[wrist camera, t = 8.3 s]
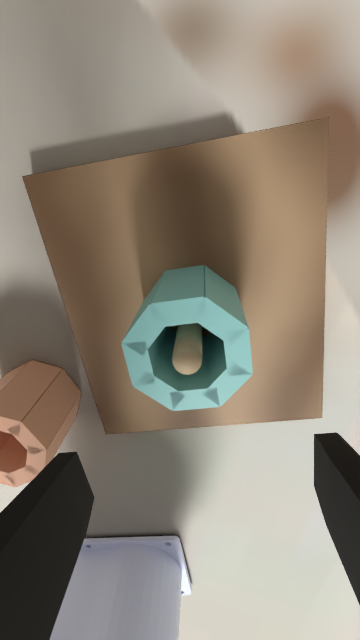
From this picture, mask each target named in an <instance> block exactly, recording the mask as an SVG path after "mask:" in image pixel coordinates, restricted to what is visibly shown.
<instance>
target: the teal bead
mask: <svg viewBox="0 0 360 640" xmlns="http://www.w3.org/2000/svg"><path fill="white" fill-rule="evenodd" d="M191 323H199V324H200V325H201V326H203V327H204V328H206V329H207V330H209V331H210V332H209V333H208V334H207V335H205V336H202V364H201V367H200V368H199V370H198V371H196V372H195V373H193V374H190V375H185V374H181V373H179V372H178V371H177V370H176V369H175V368H174V366H173V363H172V356H173V351H174V345H175V340H176V334H177V332H175V331H174V330H172V329H171V328H169V327H168V326H175V325H183V324H191ZM121 345H122V349H123V352H124V356H125V360H126V364H127V367H128V371H129V375H130V378H131V382H132V386H133V387H134V388H136V389H138V390H139V391H141V392H143V393H144V394H146V395H147V396H149V397H151V398H152V399H154V400H155V401H157V402H159V403H160V404H162V405H164V406H165V407H167V408H168V409H170V410H173V411H180V410H192V409H203V408H214V407H220V406H222V405H223V404H224V403H225V402H226V401H227V400H228V399H229V398H230V397H231V396H232V395H233V394H234V393H235V392H236V391H237V390H238V389H239V388H240V387H241V386H242V385H243V384H244V383H245V382H246V381H247V380H248V379H249V378H250V377H251V376H252V374H253V369H252V357H251V346H250V334H249V327H248V324H247V321H246V318H245V315H244V312H243V309H242V306H241V303H240V300H239V296H238V293H237V290H236V288H235V287H234V286H232V285H231V284H230V283H228V282H227V281H226V280H224V279H223V278H222V277H220V276H219V275H218V274H216V273H215V272H213V271H212V270H211V269H209V268H208V267H207V266H204V265H199V266H193V267H186V268H179V269H172V270H166V271H164V273H163V274H162V275H161V277H160V278H159V280H158V281H157V282H156V284H155V285H154V287H153V288H152V289H151V291H150V292H149V294H148V295H147V296H146V298H145V299H144V301H143V303H142V305H141V306H140V308H139V310H138V312H137V314H136V316H135V318H134V320H133V322H132V323H131V325H130V327H129V329H128V331H127V333H126V335H125V337H124V339H123V340H122V343H121Z"/></svg>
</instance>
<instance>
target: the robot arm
mask: <svg viewBox="0 0 360 640" xmlns="http://www.w3.org/2000/svg"><path fill="white" fill-rule="evenodd" d="M314 487H315V490H316V493H317V497H318V500H319V503H320V507H321V510H322V513H323V516H324V519H325V522H326V525H327V528H328V530H329V533H330V535H331V538H332V540H333V542H334V545H335V547H336V550H337V552H338V554H339V557H340V559H341V562H342V564H343V566H344V569H345V571H346V573H347V576H348V578H349V581H350V583H351V585H352V588H353V590H354V592H355V595H356V597H357V600H358V602H359V604H360V455H359V454H358V453H357V452H356V451H355V450H354V449H353V448H352V447H351V446H350V445H349V444H348V443H347V442H346V441H345V440H344V439H343V438H342V437H341V436H340V435H339V434H338V433H325V434H314ZM93 501H94V495H93V493H92V490H91V488H90V485H89V482H88V480H87V477H86V475H85V472H84V469H83V467H82V464H81V462H80V459H79V456H78V454H77V452H68V453H59V454H57V455H56V456H55V457H54V458H53V459H52V460H51V461H50V462H49V463H48V464H47V465H46V466H45V467H44V468H43V470H42V471H41V472H40V473H39V474H38V475H37V476H36V477H35V478H34V479H33V480H32V481H31V482H30V483H29V484H28V485H27V486H26V487H25V488H24V489H23V490H22V491H21V492H20V493H19V494H18V495H17V496H16V498H15V499H14V500H13V501H12V502H11V503H10V504H9V505H8V506H7V507H6V508H5V509H4V510H3V511H2V512H1V513H0V640H178V637H179V619H180V601H181V595H190V594H191V593H192V586H191V582H190V578H189V574H188V570H187V566H186V562H185V558H184V554H183V550H182V546H181V542H180V539H179V538H178V537H177V536H148V537H116V538H85V535H86V531H87V527H88V523H89V519H90V515H91V510H92V505H93Z"/></svg>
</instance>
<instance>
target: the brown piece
mask: <svg viewBox="0 0 360 640" xmlns="http://www.w3.org/2000/svg"><path fill="white" fill-rule="evenodd" d="M328 136H329V117H327V118H323V119H317V120H312V121H307V122H301V123H296V124H291V125H286V126H281V127H276V128H270V129H266V130H260V131H255V132H250V133H244V134H239V135H234V136H229V137H224V138H219V139H213V140H208V141H203V142H198V143H193V144H187V145H182V146H177V147H172V148H167V149H162V150H156V151H151V152H146V153H141V154H136V155H130V156H125V157H120V158H115V159H110V160H105V161H99V162H94V163H89V164H84V165H79V166H74V167H68V168H63V169H58V170H53V171H48V172H42V173H37V174H32V175H27V176H22V177H23V180H24V183H25V186H26V189H27V193H28V196H29V199H30V202H31V205H32V208H33V211H34V214H35V217H36V220H37V223H38V226H39V229H40V233H41V236H42V239H43V242H44V245H45V248H46V251H47V254H48V257H49V260H50V263H51V266H52V269H53V273H54V276H55V279H56V282H57V285H58V288H59V291H60V294H61V297H62V300H63V303H64V306H65V309H66V313H67V316H68V319H69V322H70V325H71V328H72V331H73V334H74V337H75V340H76V343H77V346H78V349H79V353H80V356H81V359H82V362H83V365H84V368H85V371H86V374H87V377H88V380H89V383H90V386H91V389H92V393H93V396H94V399H95V402H96V405H97V408H98V411H99V414H100V417H101V420H102V423H103V426H104V429H105V433H106V434H117V433H130V432H143V431H156V430H169V429H183V428H196V427H209V426H222V425H235V424H249V423H262V422H275V421H288V420H301V419H315V418H322V403H323V359H324V314H325V269H326V225H327V224H326V223H327V180H328ZM199 265H204V266H207V267H208V268H209V269H211V270H212V271H213V272H215V273H216V274H218V275H219V276H220V277H222V278H223V279H224V280H226V281H227V282H228V283H230V284H231V285H232V286H234V287H235V288H236V290H237V293H238V296H239V300H240V303H241V306H242V309H243V312H244V315H245V318H246V321H247V324H248V327H249V334H250V346H251V357H252V369H253V374H252V376H251V377H250V378H249V379H248V380H247V381H246V382H245V383H244V384H243V385H242V386H241V387H240V388H239V389H238V390H237V391H236V392H235V393H234V394H233V395H232V396H231V397H230V398H229V399H228V400H227V401H226V402H225V403H224V404H223V405H222V406H220V407H214V408H203V409H192V410H180V411H173V410H170V409H168V408H167V407H165V406H164V405H162V404H160V403H159V402H157V401H155V400H154V399H152V398H151V397H149V396H147V395H146V394H144V393H143V392H141V391H139V390H138V389H136V388H134V387H133V386H132V382H131V378H130V375H129V371H128V367H127V364H126V360H125V356H124V352H123V349H122V345H121V343H122V340H123V339H124V337H125V335H126V333H127V331H128V329H129V327H130V325H131V323H132V322H133V320H134V318H135V316H136V314H137V312H138V310H139V308H140V306H141V305H142V303H143V301H144V299H145V298H146V296H147V295H148V294H149V292H150V291H151V289H152V288H153V287H154V285H155V284H156V282H157V281H158V280H159V278H160V277H161V275H162V274H163V273H164V271H166V270H172V269H179V268H186V267H193V266H199ZM168 327H169V328H171V329H172V330H174V331H175V332H177V334H176V340H175V345H174V351H173V356H172V363H173V366H174V368H175V369H176V370H177V371H178V372H179V373H181V374H185V375H190V374H193V373H195V372H196V371H198V370H199V368H200V367H201V364H202V336H205V335H207V334H208V333H209V332H210V331H209V330H207V329H206V328H204V327H203V326H201V325H200V324H199V323H191V324H183V325H175V326H168Z"/></svg>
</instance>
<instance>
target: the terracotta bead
mask: <svg viewBox="0 0 360 640" xmlns="http://www.w3.org/2000/svg"><path fill="white" fill-rule="evenodd" d="M80 397H81V391H80V390H79V388H78V387H77V386H76V385H75V383H74V382H73V381H72V379H71V378H70V377H69V376H68V374H67V373H66V372H65V371H64V369H62V368H59V367H56V366H52V365H48V364H45V363H41V362H38V361H34V360H30V361H29V362H27V363H25V364H23V365H21V366H19V367H17V368H15V369H13V370H11V371H9V372H8V373H7V374H6V375H5V376H4V377H3V378H2V379H1V380H0V483H1V484H5V485H9V486H13V487H17V486H20V485H22V484H25V483H27V482H30V481H32V480H33V479H34V478H35V477H36V476H37V475H38V474H39V473H40V472H41V471H42V470H43V468H44V467H45V466H46V465H47V464H48V463H49V462H50V461H51V460H52V459H53V457H54V455H55V454H56V452H57V450H58V448H59V446H60V445H61V443H62V441H63V439H64V437H65V436H66V434H67V432H68V430H69V428H70V427H71V425H72V423H73V421H74V419H75V418H76V416H77V413H78V407H79V402H80Z"/></svg>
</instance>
